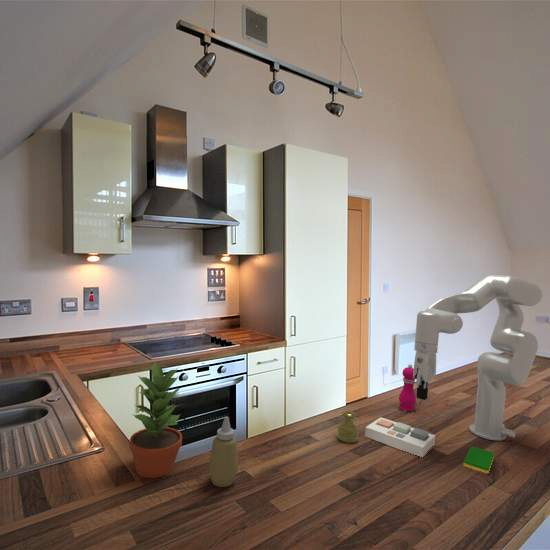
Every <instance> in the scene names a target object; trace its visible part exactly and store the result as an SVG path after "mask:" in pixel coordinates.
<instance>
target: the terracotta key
mask: <svg viewBox="0 0 550 550" xmlns="http://www.w3.org/2000/svg"><path fill="white" fill-rule="evenodd" d="M393 424H394V423H392V422H389V421H386V420H383V419H381V420H380V421H378V422H377V425H380V426H382V427H385V428H388V429H389V428H391V427H392V426H393Z"/></svg>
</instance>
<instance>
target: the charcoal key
mask: <svg viewBox="0 0 550 550" xmlns="http://www.w3.org/2000/svg"><path fill="white" fill-rule="evenodd" d="M414 428H415V429H414V430H412V431H411V437H414V438H417V439H420V440H423V441H425V440H427V439H428V435H429V433H430V431H427V430H423V429H421V428H418V427H414Z"/></svg>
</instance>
